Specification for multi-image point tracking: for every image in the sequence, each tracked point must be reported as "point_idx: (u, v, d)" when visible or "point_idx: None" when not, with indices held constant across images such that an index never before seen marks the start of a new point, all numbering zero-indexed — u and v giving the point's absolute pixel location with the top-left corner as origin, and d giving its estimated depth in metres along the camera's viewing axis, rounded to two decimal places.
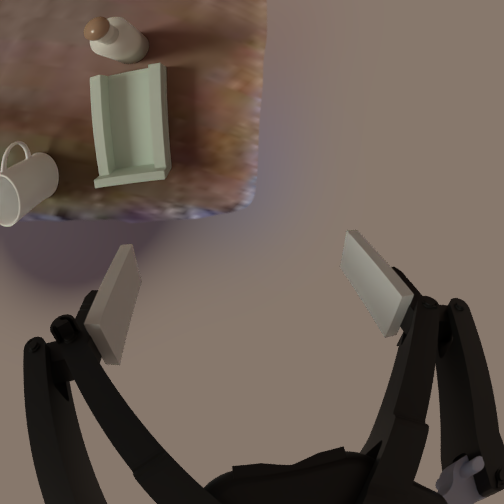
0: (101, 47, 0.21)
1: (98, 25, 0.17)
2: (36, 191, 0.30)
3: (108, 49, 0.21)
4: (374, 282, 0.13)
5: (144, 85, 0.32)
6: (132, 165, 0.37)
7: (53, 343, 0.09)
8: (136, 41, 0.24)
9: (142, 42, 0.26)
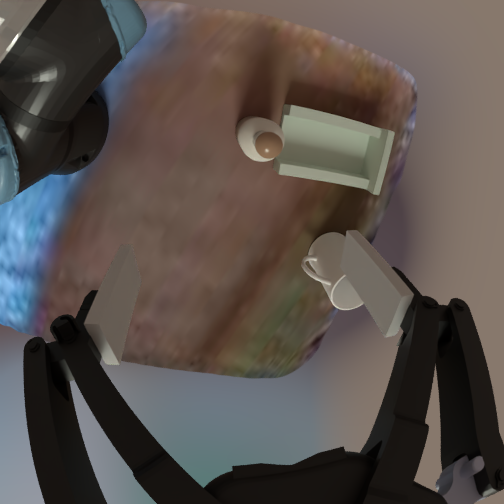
0: None
1: (267, 142, 0.26)
2: None
3: None
4: (374, 282, 0.13)
5: (299, 126, 0.38)
6: (363, 158, 0.41)
7: (53, 343, 0.09)
8: None
9: None
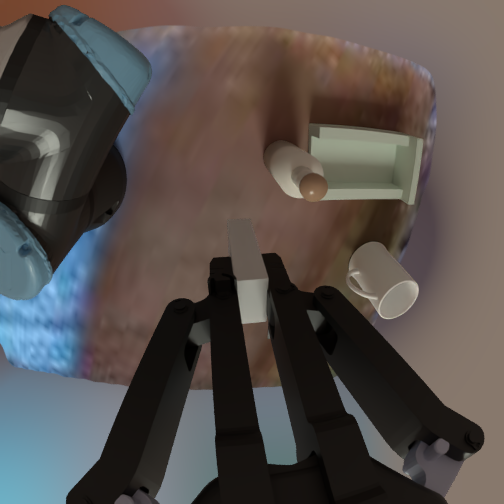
0: None
1: (312, 185, 0.26)
2: (396, 264, 0.41)
3: None
4: None
5: (328, 145, 0.36)
6: (393, 166, 0.39)
7: (195, 304, 0.12)
8: (299, 148, 0.31)
9: (291, 144, 0.33)
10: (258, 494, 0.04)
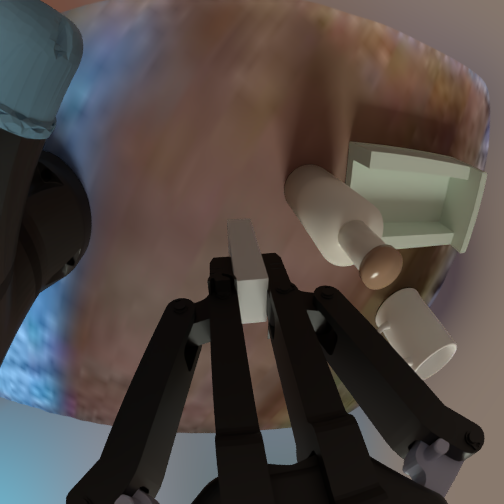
0: None
1: (382, 266, 0.15)
2: (435, 320, 0.31)
3: None
4: None
5: (373, 174, 0.26)
6: (443, 201, 0.29)
7: (195, 304, 0.12)
8: (346, 186, 0.20)
9: (329, 175, 0.22)
10: (258, 494, 0.04)
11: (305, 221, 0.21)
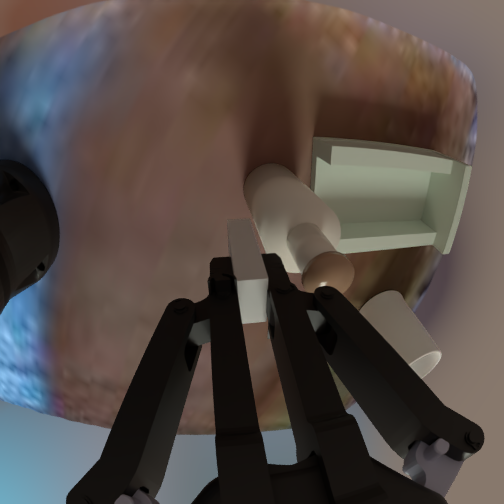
0: None
1: (327, 276, 0.14)
2: (417, 326, 0.30)
3: (330, 238, 0.18)
4: None
5: (341, 171, 0.25)
6: (425, 198, 0.28)
7: (195, 304, 0.12)
8: (301, 185, 0.19)
9: (286, 174, 0.21)
10: (258, 494, 0.04)
11: (256, 225, 0.20)
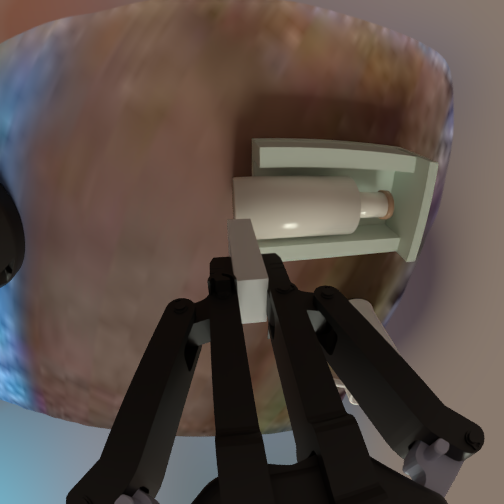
0: None
1: None
2: None
3: None
4: None
5: (283, 173, 0.24)
6: None
7: (195, 304, 0.12)
8: (310, 175, 0.23)
9: (282, 176, 0.22)
10: (258, 494, 0.04)
11: (325, 221, 0.21)
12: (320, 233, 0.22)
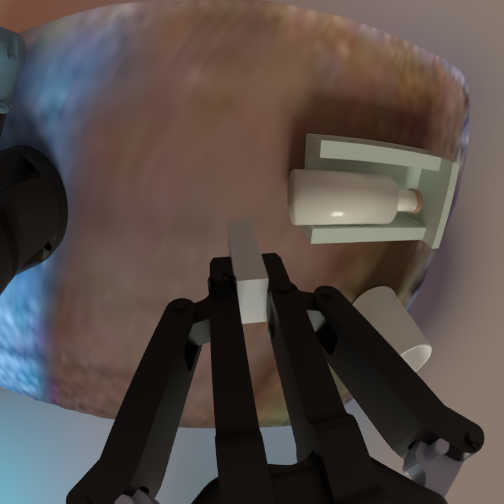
0: None
1: None
2: (408, 320, 0.31)
3: None
4: None
5: (332, 165, 0.27)
6: None
7: (195, 304, 0.12)
8: (358, 172, 0.25)
9: (337, 171, 0.24)
10: (258, 494, 0.04)
11: (370, 214, 0.24)
12: (363, 223, 0.25)
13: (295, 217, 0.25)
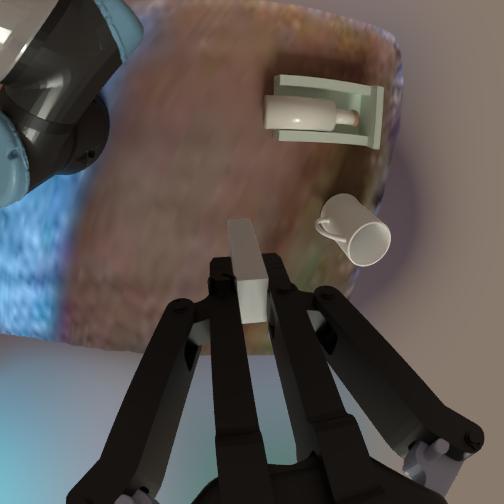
0: None
1: None
2: (366, 210, 0.43)
3: None
4: None
5: (292, 94, 0.38)
6: None
7: (195, 304, 0.12)
8: (309, 97, 0.36)
9: (293, 96, 0.35)
10: (258, 494, 0.04)
11: (316, 121, 0.36)
12: (313, 128, 0.37)
13: (266, 123, 0.36)
